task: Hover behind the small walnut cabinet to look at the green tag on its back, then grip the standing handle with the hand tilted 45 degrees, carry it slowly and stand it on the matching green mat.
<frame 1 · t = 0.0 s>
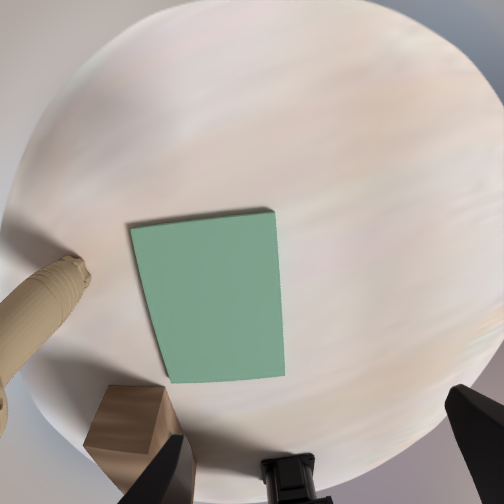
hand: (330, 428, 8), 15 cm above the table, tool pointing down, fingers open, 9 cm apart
cabinet: (156, 430, 28), on the table
mat: (214, 309, 23), on the table
handle: (76, 271, 22), on the table
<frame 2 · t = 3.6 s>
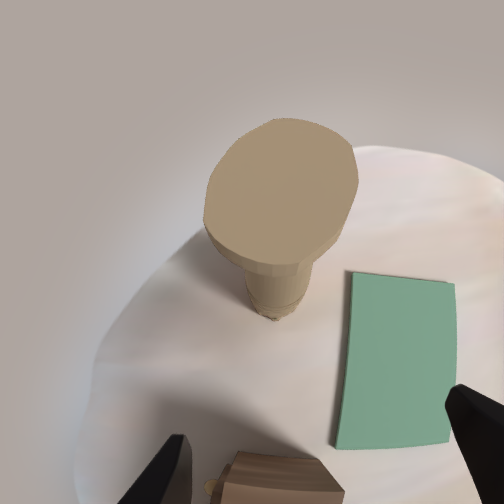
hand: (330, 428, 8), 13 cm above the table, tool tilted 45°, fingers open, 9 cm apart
mat: (404, 362, 21), on the table
handle: (275, 302, 24), on the table
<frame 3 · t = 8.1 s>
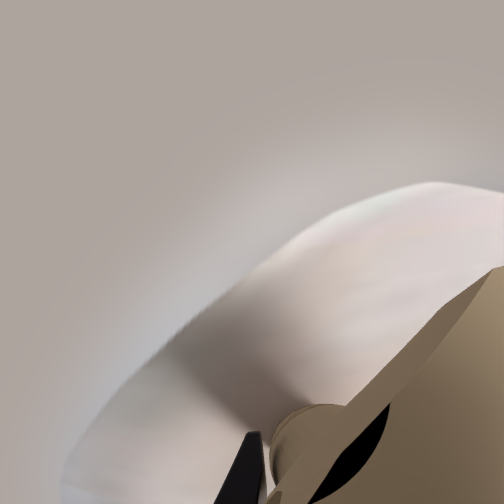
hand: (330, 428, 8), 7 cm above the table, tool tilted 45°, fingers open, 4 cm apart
handle: (304, 436, 14), on the table, touching gripper
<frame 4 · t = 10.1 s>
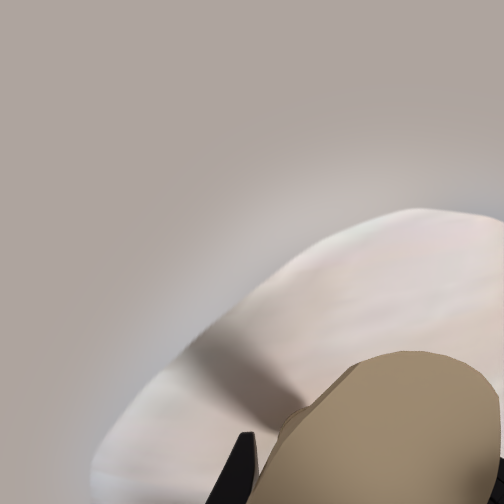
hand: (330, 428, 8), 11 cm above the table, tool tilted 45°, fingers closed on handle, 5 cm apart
handle: (307, 431, 17), point 1 cm above the table, touching gripper
when the fingers open (11 cm above the table, at t = 14.5 s): handle stays where it is, resting on mat.
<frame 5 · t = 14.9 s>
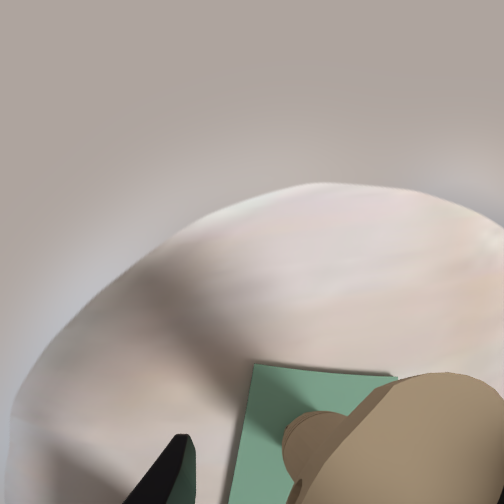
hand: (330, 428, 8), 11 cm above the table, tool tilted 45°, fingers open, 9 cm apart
mat: (311, 469, 16), on the table
handle: (307, 434, 17), resting on mat
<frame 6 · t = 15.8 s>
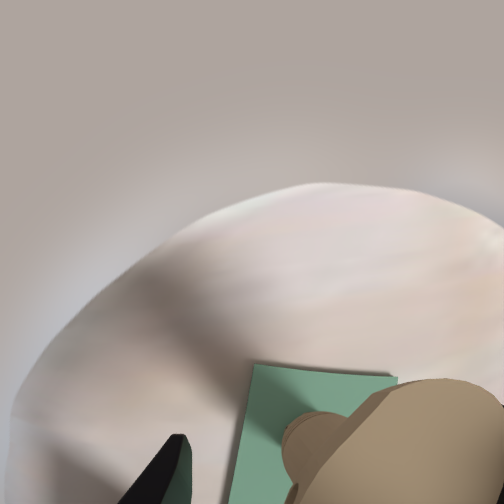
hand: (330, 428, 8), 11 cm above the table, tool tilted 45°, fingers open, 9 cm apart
mat: (311, 469, 16), on the table
handle: (307, 434, 17), resting on mat
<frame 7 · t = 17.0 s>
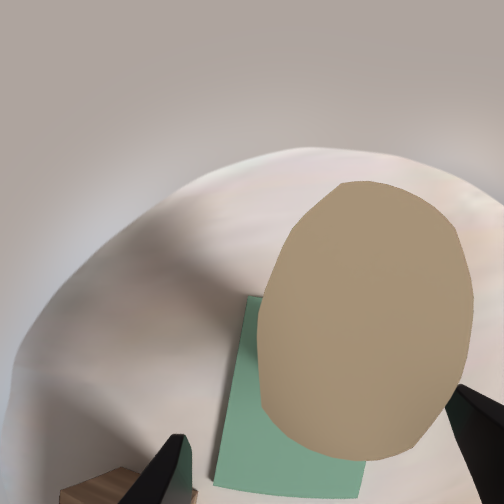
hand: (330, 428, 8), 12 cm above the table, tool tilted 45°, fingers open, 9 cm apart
mat: (303, 403, 19), on the table
handle: (298, 365, 20), resting on mat
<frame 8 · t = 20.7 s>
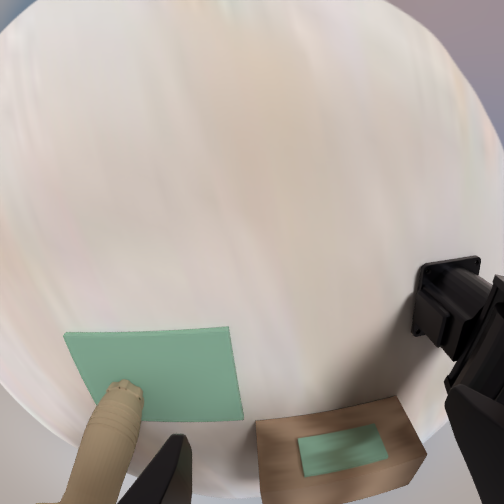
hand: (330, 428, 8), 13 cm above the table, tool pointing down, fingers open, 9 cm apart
cabinet: (327, 428, 26), on the table
mat: (154, 379, 23), on the table
handle: (128, 388, 23), resting on mat
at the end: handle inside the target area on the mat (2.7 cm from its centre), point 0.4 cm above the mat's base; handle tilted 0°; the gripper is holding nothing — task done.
